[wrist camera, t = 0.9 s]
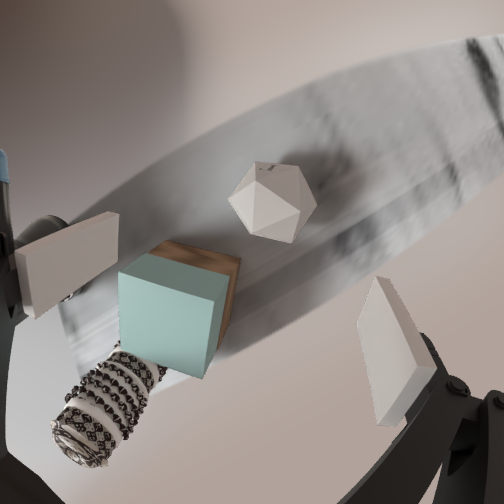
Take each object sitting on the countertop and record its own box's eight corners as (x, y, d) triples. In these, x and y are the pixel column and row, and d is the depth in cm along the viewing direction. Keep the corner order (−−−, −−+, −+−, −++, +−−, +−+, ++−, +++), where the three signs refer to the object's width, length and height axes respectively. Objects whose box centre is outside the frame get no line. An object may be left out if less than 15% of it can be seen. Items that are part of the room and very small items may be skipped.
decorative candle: (141, 304, 44) (37, 412, 20) (191, 337, 44) (112, 468, 21) (125, 339, 47) (40, 439, 24) (169, 369, 47) (101, 483, 24)
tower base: (162, 305, 43) (144, 325, 38) (166, 239, 40) (145, 254, 34) (228, 324, 42) (217, 349, 37) (241, 258, 39) (230, 276, 33)
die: (328, 192, 34) (308, 145, 26) (308, 260, 33) (281, 231, 25) (267, 183, 38) (234, 141, 30) (246, 245, 37) (204, 215, 29)
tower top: (143, 324, 38) (120, 349, 32) (145, 252, 34) (118, 271, 28) (216, 348, 37) (202, 379, 31) (229, 276, 33) (214, 301, 27)
